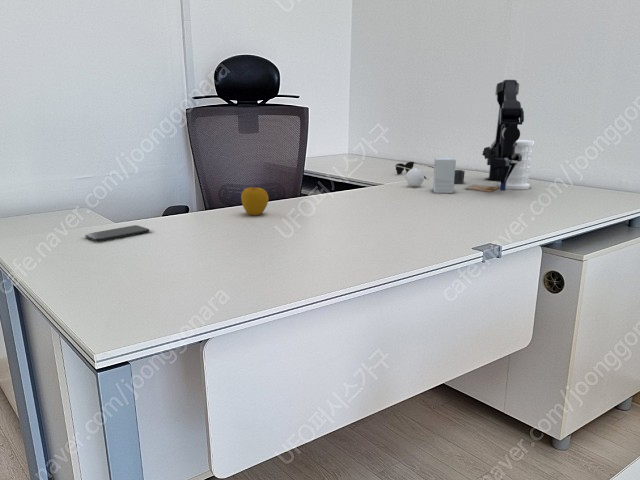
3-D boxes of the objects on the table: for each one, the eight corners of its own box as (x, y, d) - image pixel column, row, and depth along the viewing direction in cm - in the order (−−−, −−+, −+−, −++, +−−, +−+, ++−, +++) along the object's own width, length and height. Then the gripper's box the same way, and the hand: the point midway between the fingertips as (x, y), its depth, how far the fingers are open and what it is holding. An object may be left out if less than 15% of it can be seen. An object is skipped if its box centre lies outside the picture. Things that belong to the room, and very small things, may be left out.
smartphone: (136, 227, 173) (83, 237, 162) (136, 224, 172) (83, 234, 162) (151, 232, 167) (97, 242, 157) (150, 229, 167) (97, 239, 156)
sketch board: (475, 185, 241) (475, 184, 241) (499, 188, 235) (499, 187, 235) (465, 189, 233) (465, 188, 233) (489, 191, 228) (489, 190, 228)
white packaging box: (451, 189, 232) (454, 157, 227) (453, 193, 225) (456, 159, 220) (432, 189, 232) (434, 156, 228) (433, 193, 225) (436, 159, 221)
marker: (500, 189, 227) (503, 166, 224) (505, 190, 226) (508, 166, 223) (499, 190, 226) (501, 166, 222) (504, 191, 224) (506, 167, 221)
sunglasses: (412, 171, 275) (413, 161, 273) (441, 177, 265) (442, 166, 263) (394, 175, 266) (395, 163, 264) (423, 181, 256) (425, 169, 254)
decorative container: (518, 183, 245) (524, 139, 239) (535, 188, 235) (541, 141, 228) (494, 185, 242) (498, 139, 236) (509, 189, 232) (515, 142, 225)
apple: (271, 212, 193) (270, 184, 190) (264, 217, 185) (264, 189, 182) (246, 211, 194) (245, 184, 191) (238, 216, 187) (237, 188, 183)
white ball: (427, 187, 238) (428, 168, 235) (413, 188, 234) (414, 169, 231) (411, 183, 246) (412, 165, 243) (397, 185, 242) (398, 166, 239)
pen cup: (454, 181, 250) (455, 169, 248) (465, 182, 248) (466, 170, 246) (449, 183, 247) (450, 171, 245) (460, 184, 244) (461, 172, 242)
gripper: (496, 136, 231) (491, 177, 236) (477, 140, 217) (473, 183, 222) (524, 138, 225) (519, 180, 230) (507, 142, 210) (502, 186, 216)
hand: (503, 182), depth 225 cm, fingers closed on marker, 2 cm apart
